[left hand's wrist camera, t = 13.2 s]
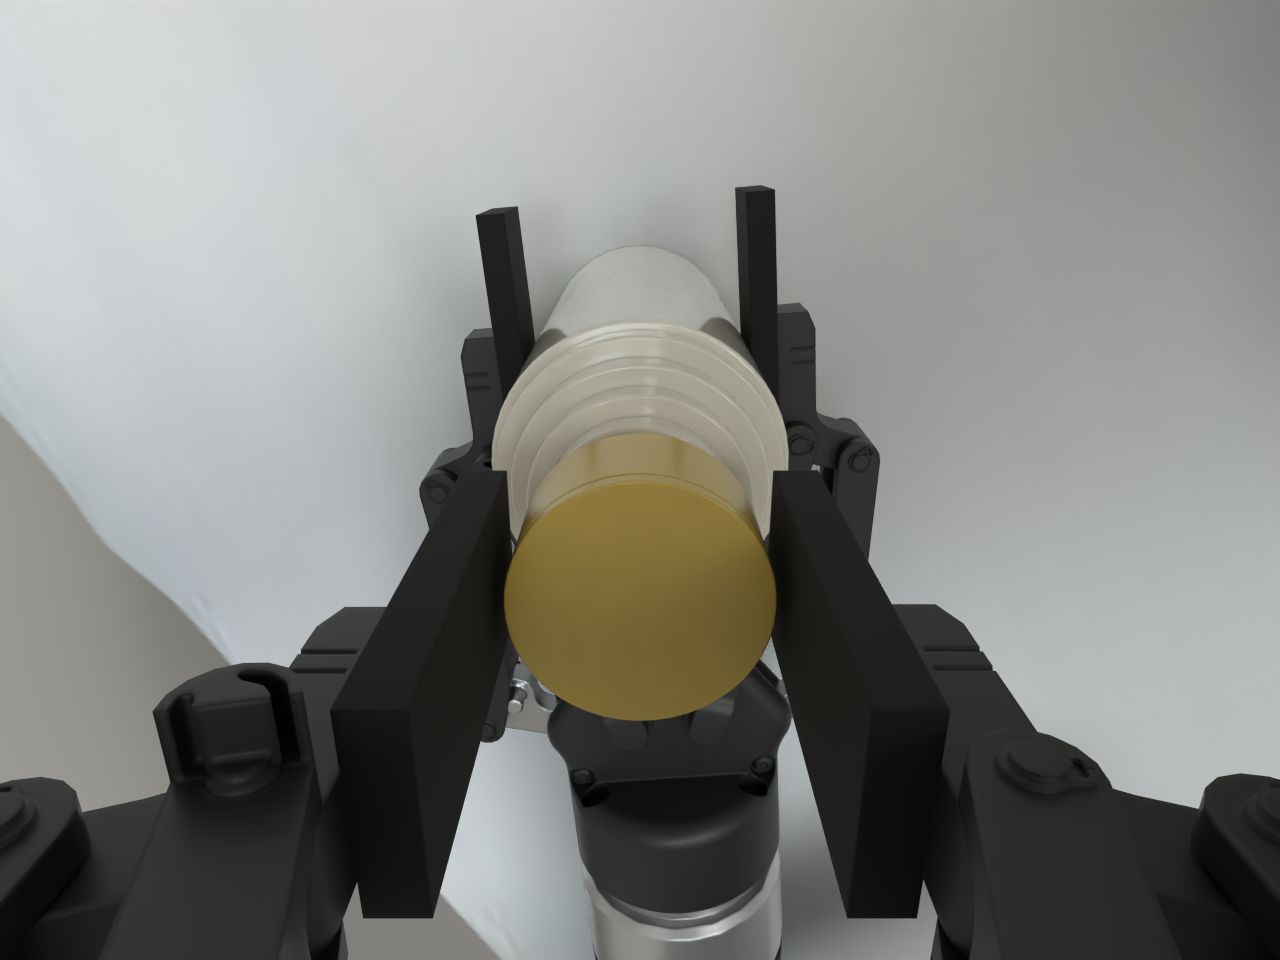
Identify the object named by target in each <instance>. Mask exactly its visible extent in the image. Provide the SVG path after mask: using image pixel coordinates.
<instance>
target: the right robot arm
mask: <svg viewBox="0 0 1280 960" xmlns="http://www.w3.org/2000/svg"><path fill="white" fill-rule="evenodd" d="M735 194H736V220H737V247H738V273H739V300H740V326H741V337H742V339H743V341H744V342H745V344H746V346H747V348H748V350H749V352H750V354H751V355H752V357H753V359H754V361H755V363H756V365H757V367H758V368H759V370H760V372H761V374H762V376H763V378H764V380H765V381H766V383H767V385H768V387H769V389H770V391H771V392H772V394H773V396H774V398H775V400H776V403H777V405H778V408H779V410H780V412H781V415H782V418H783V422H784V426H785V429H786V433H787V441H788V450H789V463H788V470H811V468H812V465H813V464H815V465H819V466H820V475H821V477H822V479H823V481H824V483H825V484H826V486H827V488H828V490H829V492H830V493H831V495H832V497H833V499H834V501H835V502H836V504H837V506H838V508H839V510H840V512H841V513H842V515H843V517H844V519H845V521H846V522H847V524H848V526H849V528H850V530H851V531H852V533H853V535H854V537H855V539H856V540H857V542H858V544H859V546H860V548H861V550H862V551H863V553H864V555H865V557H866V559H867V560H868V557H869V549H870V541H871V532H872V524H873V515H874V507H875V498H876V490H877V482H878V473H879V465H880V457H879V453H878V451H877V449H876V448H875V446H874V445H873V444H872V443H871V441H870V440H869V439H868V437H867V436H866V435H865V434H864V432H863V431H862V430H861V429H860V427H859V426H858V425H857V424H856V423H855V422H854V421H852V420H851V419H847V418H839V419H835V418H831V417H827V416H824V415H821V414H819V413H817V412H816V364H815V327H814V324H813V322H812V319H811V317H810V315H809V312H808V311H807V310H806V309H805V308H804V307H803V306H802V305H801V304H800V303H793V304H781V305H777V268H776V221H775V189H771V188H768V187H765V186H761V185H760V186H748V187H737V188H735ZM476 221H477V228H478V235H479V241H480V248H481V255H482V262H483V269H484V276H485V282H486V289H487V296H488V303H489V310H490V316H491V323H492V328H486V329H474V330H473V331H472V332H471V333H470V334H469V335H468V336H467V337H466V339H465V341H464V345H463V349H462V354H461V362H462V368H463V374H464V380H465V386H466V390H467V391H466V392H467V399H468V405H469V411H470V417H471V423H472V429H473V440H472V441H471V442H469V443H467V444H465V445H463V446H461V447H458V448H449V449H447V450H444V451H443V452H442V453H441V454H440V455H439V457H438V458H437V460H436V461H435V463H434V464H433V466H432V467H431V469H430V470H429V472H428V473H427V475H426V476H425V478H424V480H423V481H422V483H421V486H420V488H419V491H420V498H421V502H422V505H423V508H424V512H425V515H426V519H427V522H428V526H429V529H430V528H431V526H432V524H433V522H434V521H435V519H436V517H437V515H438V513H439V512H440V510H441V508H442V506H443V504H444V502H445V501H446V499H447V497H448V495H449V493H450V492H451V490H452V488H453V486H454V484H455V483H456V481H457V479H458V477H459V475H460V474H461V472H462V470H492V444H493V438H494V432H495V427H496V423H497V420H498V417H499V414H500V411H501V408H502V406H503V404H504V402H505V400H506V398H507V396H508V394H509V392H510V390H511V388H512V386H513V384H514V382H515V380H516V379H517V377H518V375H519V373H520V371H521V369H522V367H523V366H524V364H525V362H526V360H527V358H528V356H529V354H530V353H531V351H532V349H533V347H534V345H535V337H534V329H533V322H532V314H531V306H530V298H529V291H528V283H527V275H526V267H525V260H524V252H523V244H522V236H521V228H520V221H519V213H518V206H517V207H505V208H494V209H490V210H488V211H485V212H483V213H480V214H478V215H476ZM511 539H512V541H513V543H514V545H515V546H516V543H517V540H516V539H515V537H514V535H513V533H512V532H511ZM764 544H765V547H766V550H767V554H768V546H769V533H768V535H767V536H766V538H765V539H764ZM791 718H793V715H792V711H791V708H790V704H789V700H788V696H787V693H786V689H785V685H784V682H783V679H782V680H779V679H778V677H777V676H776V675H775V674H774V673H773V672H772V671H771V670H770V669H769V668H768V667H767V666H766V665H765V664H764V663H763V662H762V661H761V659H759V660H758V662H757V663H756V665H755V666H754V668H753V669H752V670H751V671H750V673H749V674H748V675H747V676H746V677H745V678H744V679H743V680H742V681H741V682H740V683H739V684H738V685H737V686H736V687H734V688H733V689H732V690H731V691H730V692H728V693H727V694H725V695H724V696H722V697H721V698H719V699H718V700H716V701H714V702H712V703H710V704H709V705H707V706H705V707H703V708H700V709H698V710H695V711H692V712H690V713H687V714H683V715H680V716H676V717H672V718H666V719H659V720H645V721H634V720H621V719H615V718H610V717H604V716H601V715H597V714H594V713H591V712H588V711H585V710H583V709H581V708H578V707H576V706H574V705H572V704H570V703H568V702H567V701H565V700H563V699H561V698H559V697H558V696H557V695H552V694H548V693H546V692H545V691H543V690H542V689H541V688H540V686H539V684H538V680H537V679H536V678H535V677H534V675H533V674H532V673H531V672H530V671H529V669H528V668H527V667H526V666H525V664H524V663H523V661H522V660H521V661H519V655H518V653H517V651H516V649H515V647H514V645H513V643H512V640H511V638H510V636H509V637H508V641H507V644H506V648H505V652H504V656H503V659H502V663H501V667H500V670H499V674H498V678H497V682H496V685H495V689H494V693H493V696H492V700H491V704H490V708H489V711H488V715H487V719H486V722H485V726H484V730H483V734H482V737H481V741H482V742H485V743H487V742H494V741H497V740H499V739H500V738H501V737H502V736H503V734H504V731H505V727H507V728H513V729H520V730H527V731H534V732H541V733H547V734H548V737H549V740H550V742H551V744H552V745H553V747H554V748H555V749H556V750H557V751H558V752H559V753H560V755H561V756H562V758H563V759H564V761H565V763H566V765H567V769H568V774H569V781H570V788H571V795H572V802H573V809H574V816H575V823H576V830H577V837H578V844H579V851H580V855H581V858H582V875H583V881H584V888H585V894H586V901H587V907H588V913H589V920H590V926H591V933H592V939H593V948H594V953H595V959H596V960H781V932H782V902H781V872H780V853H779V846H778V843H779V802H778V766H777V753H778V748H779V745H780V743H781V741H782V739H783V737H784V736H785V734H786V733H787V731H788V729H789V727H790V724H791Z"/></svg>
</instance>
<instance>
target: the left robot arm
mask: <svg viewBox="0 0 1280 960" xmlns="http://www.w3.org/2000/svg"><path fill="white" fill-rule="evenodd" d="M768 557H769V560H770V563H771V567H772V570H773V573H774V577H775V583H776V590H777V611H776V617H775V623H774V627H773V631H772V634H771V637H772V641H773V644H774V648H775V652H776V656H777V659H778V663H779V667H780V670H781V674H782V678H783V682H784V685H785V689H786V693H787V696H788V700H789V704H790V708H791V711H792V715H793V719H794V722H795V726H796V730H797V734H798V737H799V741H800V745H801V748H802V752H803V756H804V760H805V763H806V767H807V771H808V774H809V778H810V782H811V786H812V789H813V793H814V797H815V800H816V804H817V808H818V812H819V815H820V819H821V823H822V826H823V830H824V834H825V838H826V841H827V845H828V849H829V852H830V856H831V860H832V864H833V867H834V871H835V875H836V878H837V882H838V886H839V890H840V893H841V897H842V901H843V904H844V908H845V912H846V916H847V918H917V914H918V907H919V901H920V895H921V889H922V883H923V879H924V882H925V884H926V887H927V890H928V892H929V895H930V897H931V900H932V902H933V905H934V908H935V910H936V913H937V915H938V918H937V924H936V930H935V936H934V941H933V947H932V953H931V958H930V960H1280V780H1279V779H1275V778H1272V777H1267V776H1259V775H1250V774H1241V773H1240V774H1234V775H1228V776H1222V777H1217V778H1216V779H1215V780H1214V781H1213V782H1212V783H1210V784H1209V785H1208V786H1207V787H1206V788H1205V790H1204V794H1203V797H1202V800H1201V803H1200V807H1199V809H1196V808H1192V807H1187V806H1183V805H1178V804H1173V803H1169V802H1164V801H1160V800H1155V799H1150V798H1146V797H1141V796H1137V795H1133V794H1129V793H1126V792H1122V791H1119V790H1115V789H1113V788H1112V786H1111V783H1110V781H1109V780H1108V778H1107V777H1106V775H1105V774H1104V772H1103V771H1102V770H1101V768H1100V767H1099V765H1098V764H1097V763H1096V762H1095V761H1093V760H1092V759H1091V758H1090V757H1088V756H1087V755H1086V754H1084V753H1083V752H1082V751H1080V750H1079V749H1078V748H1077V747H1075V746H1072V745H1070V744H1068V743H1066V742H1064V741H1062V740H1060V739H1057V738H1055V737H1053V736H1051V735H1047V734H1043V733H1039V732H1037V731H1036V729H1035V728H1034V726H1033V725H1032V723H1031V722H1030V720H1029V719H1028V717H1027V716H1026V715H1025V713H1024V712H1023V710H1022V709H1021V707H1020V706H1019V704H1018V703H1017V701H1016V700H1015V698H1014V697H1013V695H1012V694H1011V693H1010V691H1009V690H1008V688H1007V687H1006V685H1005V684H1004V682H1003V681H1002V679H1001V678H1000V676H999V675H998V673H997V672H996V671H993V669H992V665H991V663H990V662H989V660H988V659H987V657H986V656H985V654H984V653H983V652H980V650H979V646H978V644H977V643H976V641H975V640H974V638H973V637H972V635H971V634H970V632H969V631H968V629H967V628H966V626H965V625H964V624H963V623H962V622H960V621H959V620H957V619H956V618H954V617H953V616H952V615H950V614H949V613H947V612H946V611H944V610H943V609H941V608H940V607H939V606H937V605H936V604H891V602H890V600H889V598H888V597H887V595H886V593H885V591H884V589H883V588H882V586H881V584H880V582H879V580H878V578H877V577H876V575H875V573H874V571H873V569H872V568H871V566H870V564H869V562H868V560H867V559H866V557H865V555H864V553H863V551H862V550H861V548H860V546H859V544H858V542H857V540H856V539H855V537H854V535H853V533H852V531H851V530H850V528H849V526H848V524H847V522H846V521H845V519H844V517H843V515H842V513H841V512H840V510H839V508H838V506H837V504H836V502H835V501H834V499H833V497H832V495H831V493H830V492H829V490H828V488H827V486H826V484H825V483H824V481H823V479H822V477H821V475H820V474H819V472H818V470H773V481H772V497H771V513H770V529H769V546H768ZM511 559H512V546H511V530H510V513H509V497H508V481H507V470H462V472H461V474H460V475H459V477H458V479H457V481H456V483H455V484H454V486H453V488H452V490H451V492H450V493H449V495H448V497H447V499H446V501H445V502H444V504H443V506H442V508H441V510H440V512H439V513H438V515H437V517H436V519H435V521H434V522H433V524H432V526H431V528H430V530H429V531H428V533H427V535H426V537H425V539H424V540H423V542H422V544H421V546H420V548H419V550H418V551H417V553H416V555H415V557H414V559H413V560H412V562H411V564H410V566H409V568H408V569H407V571H406V573H405V575H404V577H403V578H402V580H401V582H400V584H399V586H398V588H397V589H396V591H395V593H394V595H393V597H392V598H391V600H390V602H389V604H388V606H387V607H344V608H343V609H341V610H340V611H338V612H337V613H336V614H334V615H333V616H331V617H330V618H328V619H327V620H326V621H324V622H323V623H321V624H320V625H318V626H317V627H316V628H315V630H314V631H313V633H312V634H311V636H310V637H309V639H308V640H307V642H306V643H305V645H304V646H303V648H302V649H301V654H298V655H297V656H296V658H295V659H294V661H293V662H292V664H291V665H290V667H289V668H287V667H283V666H279V665H275V664H271V663H241V664H237V665H232V666H227V667H223V668H218V669H214V670H212V671H209V672H207V673H204V674H202V675H199V676H197V677H194V678H192V679H190V680H187V681H186V682H184V683H183V684H181V685H180V686H178V687H177V688H175V689H174V690H173V691H171V692H170V693H168V694H167V695H165V697H164V698H163V699H162V700H161V702H160V703H159V704H158V705H157V707H156V708H155V709H154V710H153V716H154V719H155V723H156V727H157V731H158V735H159V739H160V743H161V747H162V751H163V755H164V759H165V763H166V767H167V770H168V774H169V778H170V785H169V787H168V790H167V792H166V793H163V794H160V795H156V796H153V797H149V798H146V799H142V800H137V801H132V802H128V803H123V804H119V805H114V806H110V807H105V808H100V809H96V810H91V811H87V812H82V810H81V807H80V803H79V800H78V797H77V794H76V791H75V790H74V789H72V788H71V787H70V786H69V785H68V784H66V783H65V782H64V781H62V780H56V779H50V778H44V777H37V778H28V779H19V780H11V781H8V782H5V783H1V784H0V960H347V958H348V949H347V942H346V936H345V930H344V924H343V917H344V915H345V912H346V909H347V907H348V904H349V902H350V899H351V896H352V894H353V891H354V889H355V886H356V883H358V889H359V895H360V901H361V908H362V914H363V918H433V915H434V912H435V908H436V904H437V901H438V897H439V893H440V889H441V886H442V882H443V878H444V875H445V871H446V867H447V863H448V860H449V856H450V852H451V849H452V845H453V841H454V838H455V834H456V830H457V826H458V823H459V819H460V815H461V812H462V808H463V804H464V800H465V797H466V793H467V789H468V786H469V782H470V778H471V774H472V771H473V767H474V763H475V760H476V756H477V752H478V748H479V745H480V741H481V737H482V734H483V730H484V726H485V722H486V719H487V715H488V711H489V708H490V704H491V700H492V696H493V693H494V689H495V685H496V682H497V678H498V674H499V670H500V667H501V663H502V659H503V656H504V652H505V648H506V644H507V641H508V637H509V632H508V628H507V625H506V621H505V613H504V586H505V581H506V576H507V571H508V568H509V565H510V562H511Z"/></svg>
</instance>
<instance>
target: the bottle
mask: <svg viewBox="0 0 1280 960" xmlns="http://www.w3.org/2000/svg"><path fill="white" fill-rule="evenodd" d="M640 433H644V434H656V435H663V436H668V437H672V438H676V439H679V440H682V441H685V442H688V443H691V444H693V445H695V446H697V447H699V448H701V449H703V450H705V451H706V452H708V453H709V454H711V455H712V456H713V457H715V458H716V459H718V460H719V461H720V462H721V463H722V464H723V465H725V466H726V467H727V468H728V469H729V470H730V471H731V472H732V474H733V475H734V476H735V477H736V478H737V479H738V481H739V482H740V484H741V485H742V487H743V488H744V490H745V491H746V493H747V495H748V497H749V499H750V502H751V504H752V506H753V509H754V512H755V515H756V519H757V522H758V525H759V528H760V531H761V535H762V538H763V541H764V539H765V538H766V536H767V535H768V533H769V529H770V513H771V497H772V481H773V470H788V463H789V450H788V441H787V433H786V429H785V426H784V422H783V418H782V415H781V412H780V410H779V408H778V405H777V403H776V400H775V398H774V396H773V394H772V392H771V391H770V389H769V387H768V385H767V383H766V381H765V380H764V378H763V376H762V374H761V372H760V370H759V368H758V367H757V365H756V363H755V361H754V359H753V357H752V355H751V354H750V352H749V350H748V348H747V346H746V344H745V342H744V341H743V339H742V337H741V335H740V333H739V331H738V329H737V328H736V326H735V324H734V322H733V320H732V318H731V316H730V315H729V313H728V311H727V309H726V307H725V305H724V303H723V302H722V300H721V298H720V296H719V294H718V292H717V291H716V289H715V287H714V286H713V284H712V283H711V281H710V280H709V279H708V278H707V276H706V275H705V274H704V273H703V272H702V271H701V270H700V269H699V268H698V267H697V266H695V265H694V264H693V263H691V262H690V261H689V260H687V259H686V258H684V257H682V256H680V255H678V254H676V253H673V252H671V251H668V250H665V249H661V248H657V247H650V246H629V247H624V248H619V249H615V250H612V251H609V252H607V253H605V254H603V255H600V256H598V257H596V258H595V259H593V260H592V261H590V262H589V263H587V264H586V265H585V266H584V267H583V268H582V269H580V270H579V271H578V272H577V273H576V275H575V276H574V277H573V278H572V279H571V280H570V282H569V283H568V285H567V286H566V288H565V289H564V291H563V293H562V295H561V297H560V299H559V301H558V302H557V304H556V306H555V308H554V310H553V312H552V314H551V315H550V317H549V319H548V321H547V323H546V325H545V327H544V328H543V330H542V332H541V334H540V336H539V338H538V340H537V341H536V343H535V345H534V347H533V349H532V351H531V353H530V354H529V356H528V358H527V360H526V362H525V364H524V366H523V367H522V369H521V371H520V373H519V375H518V377H517V379H516V380H515V382H514V384H513V386H512V388H511V390H510V392H509V394H508V396H507V398H506V400H505V402H504V404H503V406H502V408H501V411H500V414H499V417H498V420H497V423H496V427H495V432H494V438H493V444H492V470H507V481H508V497H509V513H510V530H511V532H512V533H513V535H514V537H515V539H516V540H518V536H519V533H520V530H521V527H522V524H523V520H524V517H525V514H526V511H527V508H528V505H529V503H530V500H531V498H532V497H533V495H534V493H535V491H536V489H537V487H538V486H539V485H540V483H541V482H542V480H543V479H544V477H545V476H546V475H547V474H548V473H549V472H550V471H551V470H552V469H553V468H554V467H555V466H556V465H557V464H558V463H559V462H561V461H562V460H563V459H564V458H566V457H567V456H568V455H570V454H572V453H573V452H575V451H576V450H578V449H580V448H582V447H584V446H586V445H588V444H591V443H593V442H595V441H598V440H602V439H605V438H608V437H612V436H618V435H624V434H640Z"/></svg>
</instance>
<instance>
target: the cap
mask: <svg viewBox="0 0 1280 960" xmlns="http://www.w3.org/2000/svg"><path fill="white" fill-rule="evenodd" d="M776 611H777V590H776V583H775V577H774V573H773V570H772V567H771V563H770V560H769V557H768V554H767V550H766V547H765V544H764V541H763V538H762V535H761V531H760V528H759V525H758V522H757V519H756V515H755V512H754V509H753V506H752V504H751V502H750V499H749V497H748V495H747V493H746V491H745V490H744V488H743V487H742V485H741V484H740V482H739V481H738V479H737V478H736V477H735V476H734V475H733V474H732V472H731V471H730V470H729V469H728V468H727V467H726V466H725V465H723V464H722V463H721V462H720V461H719V460H718V459H716V458H715V457H713V456H712V455H711V454H709V453H708V452H706V451H705V450H703V449H701V448H699V447H697V446H695V445H693V444H691V443H688V442H685V441H682V440H679V439H676V438H672V437H668V436H663V435H656V434H644V433H640V434H624V435H618V436H612V437H608V438H605V439H602V440H598V441H595V442H593V443H591V444H588V445H586V446H584V447H582V448H580V449H578V450H576V451H575V452H573V453H572V454H570V455H568V456H567V457H566V458H564V459H563V460H562V461H561V462H559V463H558V464H557V465H556V466H555V467H554V468H553V469H552V470H551V471H550V472H549V473H548V474H547V475H546V476H545V477H544V479H543V480H542V482H541V483H540V485H539V486H538V487H537V489H536V491H535V493H534V495H533V497H532V498H531V500H530V503H529V505H528V508H527V511H526V514H525V517H524V520H523V524H522V527H521V530H520V533H519V536H518V540H517V543H516V546H515V549H514V552H513V556H512V559H511V562H510V565H509V568H508V571H507V576H506V581H505V586H504V613H505V621H506V625H507V628H508V632H509V636H510V638H511V640H512V643H513V645H514V647H515V649H516V651H517V653H518V655H519V656H520V658H521V660H522V661H523V663H524V664H525V666H526V667H527V668H528V669H529V671H530V672H531V673H532V674H533V675H534V677H535V678H536V679H537V680H539V681H540V682H541V683H542V684H543V685H544V686H545V687H546V688H547V689H549V690H550V691H551V692H553V693H554V694H555V695H557V696H558V697H559V698H561V699H563V700H565V701H567V702H568V703H570V704H572V705H574V706H576V707H578V708H581V709H583V710H585V711H588V712H591V713H594V714H597V715H601V716H604V717H610V718H615V719H621V720H634V721H645V720H659V719H666V718H672V717H676V716H680V715H683V714H687V713H690V712H692V711H695V710H698V709H700V708H703V707H705V706H707V705H709V704H710V703H712V702H714V701H716V700H718V699H719V698H721V697H722V696H724V695H725V694H727V693H728V692H730V691H731V690H732V689H733V688H734V687H736V686H737V685H738V684H739V683H740V682H741V681H742V680H743V679H744V678H745V677H746V676H747V675H748V674H749V673H750V671H751V670H752V669H753V668H754V666H755V665H756V663H757V662H758V660H759V659H760V657H761V656H762V654H763V652H764V650H765V648H766V646H767V644H768V642H769V640H770V637H771V634H772V631H773V627H774V623H775V617H776Z"/></svg>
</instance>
